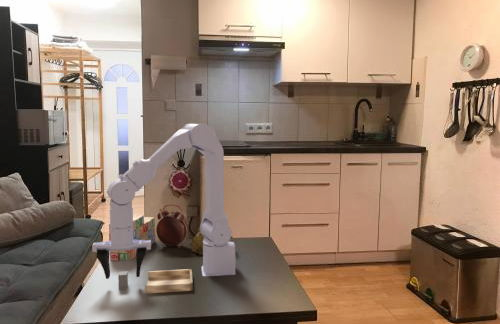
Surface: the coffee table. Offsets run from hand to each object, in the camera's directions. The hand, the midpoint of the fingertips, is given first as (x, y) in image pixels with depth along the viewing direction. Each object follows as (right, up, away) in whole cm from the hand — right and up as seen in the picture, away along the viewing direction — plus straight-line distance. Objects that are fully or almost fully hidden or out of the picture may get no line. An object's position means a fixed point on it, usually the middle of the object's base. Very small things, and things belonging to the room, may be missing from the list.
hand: (123, 276), depth 106 cm
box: (+12, -3, +2) cm, 12 cm away
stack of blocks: (-6, 0, +31) cm, 31 cm away
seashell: (+20, -1, +32) cm, 37 cm away
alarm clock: (+6, 0, +36) cm, 36 cm away
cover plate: (0, -4, 0) cm, 4 cm away
